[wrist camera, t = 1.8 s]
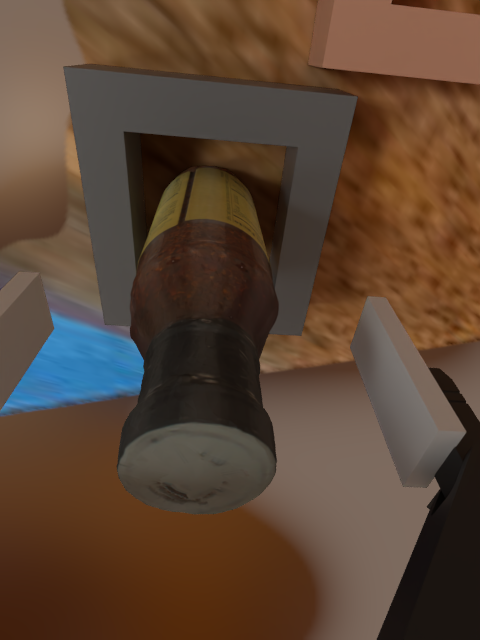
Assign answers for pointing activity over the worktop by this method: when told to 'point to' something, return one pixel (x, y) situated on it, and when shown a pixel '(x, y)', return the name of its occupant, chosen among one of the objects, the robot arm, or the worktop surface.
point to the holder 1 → (207, 123)
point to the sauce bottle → (201, 351)
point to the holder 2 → (396, 40)
